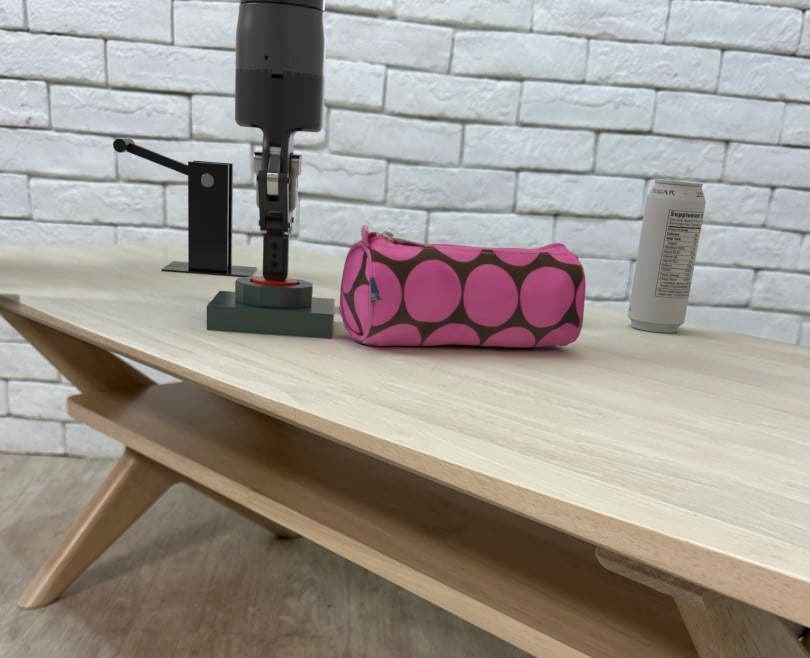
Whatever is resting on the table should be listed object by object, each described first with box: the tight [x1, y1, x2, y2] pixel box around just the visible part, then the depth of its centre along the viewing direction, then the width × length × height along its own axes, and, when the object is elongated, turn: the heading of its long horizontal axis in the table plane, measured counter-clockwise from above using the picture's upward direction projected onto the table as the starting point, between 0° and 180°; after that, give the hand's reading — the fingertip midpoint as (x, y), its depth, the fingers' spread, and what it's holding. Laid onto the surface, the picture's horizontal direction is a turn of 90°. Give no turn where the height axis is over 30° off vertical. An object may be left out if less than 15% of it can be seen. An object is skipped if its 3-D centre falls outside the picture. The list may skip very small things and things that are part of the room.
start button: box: [252, 275, 297, 286], centre depth 91 cm, size 4×4×2 cm
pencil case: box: [339, 224, 587, 348], centre depth 88 cm, size 21×10×10 cm, turn 111°
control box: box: [206, 275, 336, 340], centre depth 91 cm, size 11×9×4 cm
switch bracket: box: [161, 160, 258, 278], centre depth 115 cm, size 10×8×13 cm
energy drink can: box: [627, 179, 707, 334], centre depth 105 cm, size 6×6×15 cm
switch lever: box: [112, 137, 188, 177], centre depth 112 cm, size 12×5×2 cm, turn 93°
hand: (275, 279), depth 90 cm, fingers closed
